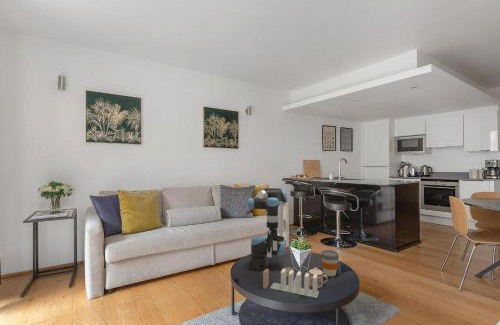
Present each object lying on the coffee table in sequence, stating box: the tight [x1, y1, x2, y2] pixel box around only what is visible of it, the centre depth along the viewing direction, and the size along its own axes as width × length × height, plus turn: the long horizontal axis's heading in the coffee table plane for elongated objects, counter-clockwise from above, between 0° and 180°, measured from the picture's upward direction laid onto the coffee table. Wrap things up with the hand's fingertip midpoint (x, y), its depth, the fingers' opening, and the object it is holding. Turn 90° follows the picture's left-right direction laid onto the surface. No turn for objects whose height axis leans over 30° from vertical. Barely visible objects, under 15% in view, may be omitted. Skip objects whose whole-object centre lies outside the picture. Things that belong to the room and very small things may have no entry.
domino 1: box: [262, 268, 270, 289], centre depth 172 cm, size 2×6×11 cm, turn 157°
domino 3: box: [287, 269, 295, 291], centre depth 168 cm, size 2×6×11 cm, turn 157°
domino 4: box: [295, 271, 302, 293], centre depth 167 cm, size 2×6×11 cm, turn 157°
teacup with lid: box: [308, 267, 328, 289], centre depth 175 cm, size 12×9×12 cm
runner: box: [269, 282, 320, 299], centre depth 168 cm, size 30×8×1 cm, turn 67°
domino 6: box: [312, 274, 318, 296], centre depth 163 cm, size 2×6×11 cm, turn 157°
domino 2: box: [280, 268, 287, 291], centre depth 170 cm, size 2×6×11 cm, turn 157°
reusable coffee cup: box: [320, 249, 340, 277], centre depth 193 cm, size 13×13×15 cm
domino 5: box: [303, 272, 310, 296], centre depth 165 cm, size 2×6×11 cm, turn 157°
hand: (272, 253), depth 174 cm, fingers open, 13 cm apart
